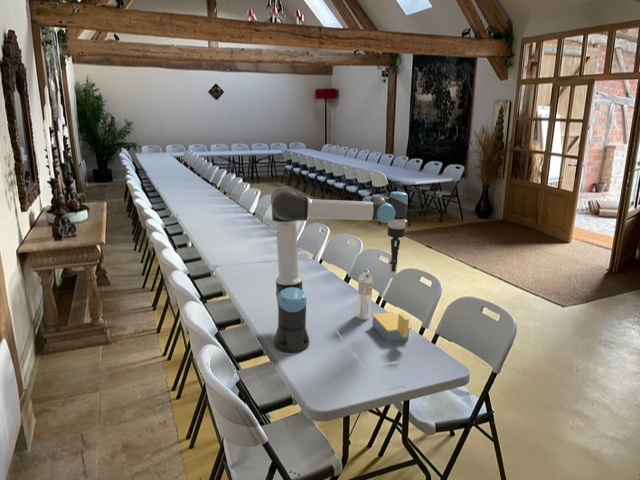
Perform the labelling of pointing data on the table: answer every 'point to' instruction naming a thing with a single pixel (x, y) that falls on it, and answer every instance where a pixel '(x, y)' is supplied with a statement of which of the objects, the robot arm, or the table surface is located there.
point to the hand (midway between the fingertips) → (392, 272)
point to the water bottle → (364, 296)
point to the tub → (388, 333)
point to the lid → (393, 322)
